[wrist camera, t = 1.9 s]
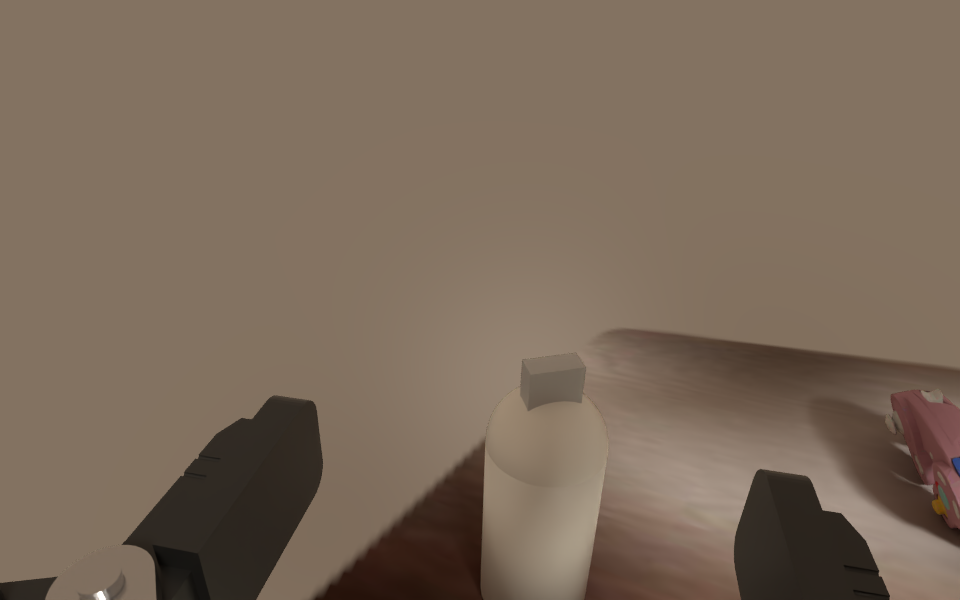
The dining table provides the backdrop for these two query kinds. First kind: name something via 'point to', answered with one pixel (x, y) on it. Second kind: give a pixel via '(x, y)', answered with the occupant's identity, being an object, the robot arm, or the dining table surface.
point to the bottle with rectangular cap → (542, 485)
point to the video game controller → (932, 444)
